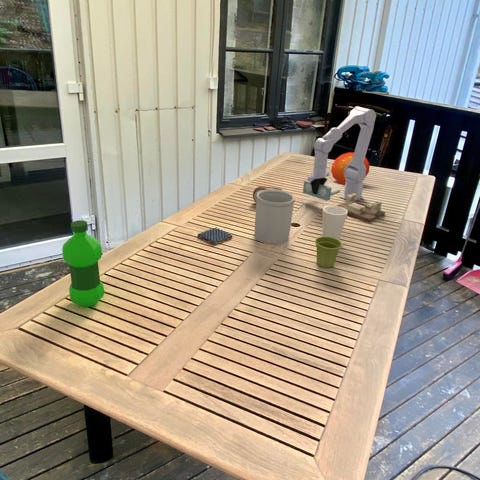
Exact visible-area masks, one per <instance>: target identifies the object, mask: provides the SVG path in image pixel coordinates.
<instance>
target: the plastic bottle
mask: <svg viewBox="0 0 480 480" xmlns="http://www.w3.org/2000/svg"><path fill="white" fill-rule="evenodd" d="M70 227H71V232H72V233H73V235H72V236H71V237H70V238H68V240H66V241H65V242H64V243H63V245H62V248H61V250H62V257H63V258H62V259H63V260H64V261H63V262H64V263H66V265H68V267H69V274H70V281H71V283H70V285H69V288H68V290H69V292H68V293H69V298H70V300H71V302H73V303H74V304H76V305H78V306H80V307H83V308H90V307H94V306H95V305H96V304H97V303H99V301H100V300H101V299H102V298H104V296H105V287H104V283H103V281H101V279H100V268H99V261H100V259H102V256H103V250H102V249H103V248H102V246H101V243H100V241H99V239H97V238H95V237H93V236H92V235H89V234H88V233H87V231H88V230H89V227H88V221H85V220H74V221H72V222H71V223H70Z"/></svg>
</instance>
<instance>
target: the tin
mask: <svg viewBox="0 0 480 480" xmlns="http://www.w3.org/2000/svg"><path fill="white" fill-rule="evenodd" d="M267 189H275V190H282V191H284V190H283V189H282V188H280V187H272V186H263V185H261V186H258V187H256V188H254V190H253V193H252V199H253V201H254V202H255V203H256V202H257V199H256V195H257V193H258V192H259V191H262V190H267Z"/></svg>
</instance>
